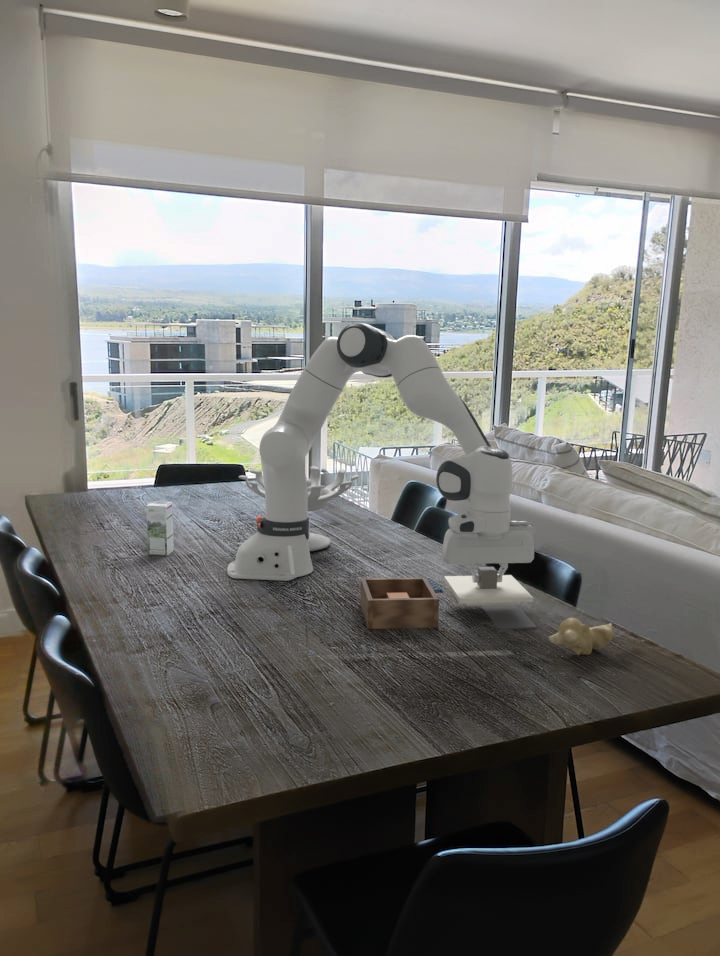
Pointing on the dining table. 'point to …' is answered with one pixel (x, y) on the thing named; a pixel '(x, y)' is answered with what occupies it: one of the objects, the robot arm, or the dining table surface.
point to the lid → (487, 589)
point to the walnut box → (399, 603)
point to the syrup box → (160, 528)
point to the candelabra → (311, 497)
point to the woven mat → (434, 586)
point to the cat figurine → (582, 636)
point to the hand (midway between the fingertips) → (486, 581)
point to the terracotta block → (397, 595)
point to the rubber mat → (508, 617)
